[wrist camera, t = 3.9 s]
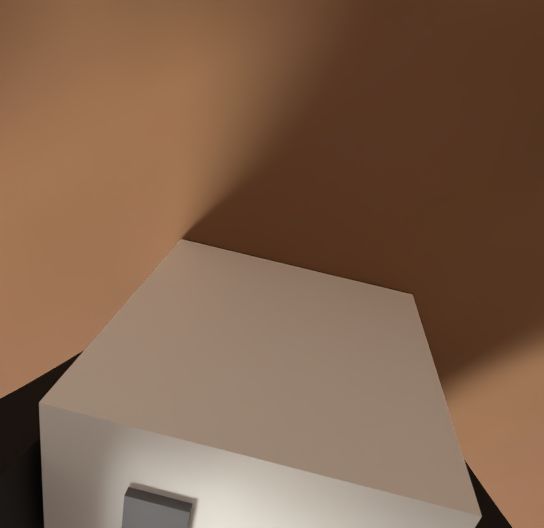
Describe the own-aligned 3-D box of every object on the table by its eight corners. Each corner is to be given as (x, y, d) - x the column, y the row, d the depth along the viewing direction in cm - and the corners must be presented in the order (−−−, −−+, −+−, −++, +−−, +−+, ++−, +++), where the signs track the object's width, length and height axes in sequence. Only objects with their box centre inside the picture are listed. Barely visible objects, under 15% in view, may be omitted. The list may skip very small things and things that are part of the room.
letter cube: (160, 412, 12) (44, 643, 7) (181, 239, 9) (32, 410, 5) (347, 459, 11) (354, 729, 7) (412, 294, 9) (485, 526, 5)
